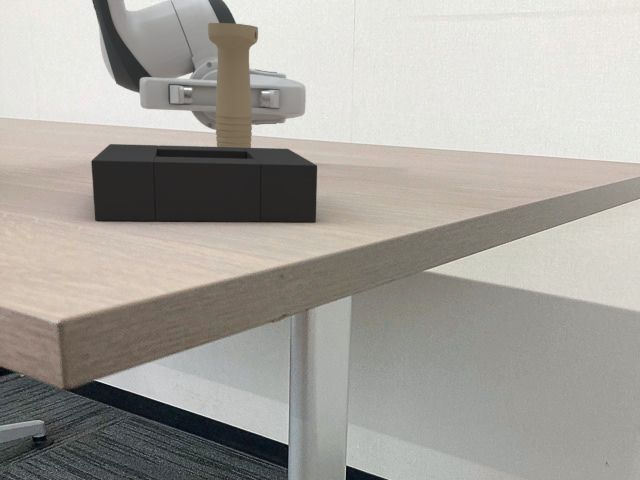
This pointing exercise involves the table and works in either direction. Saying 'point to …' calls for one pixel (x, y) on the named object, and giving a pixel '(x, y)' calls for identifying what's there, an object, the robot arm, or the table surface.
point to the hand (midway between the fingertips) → (227, 97)
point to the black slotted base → (203, 184)
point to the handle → (233, 83)
